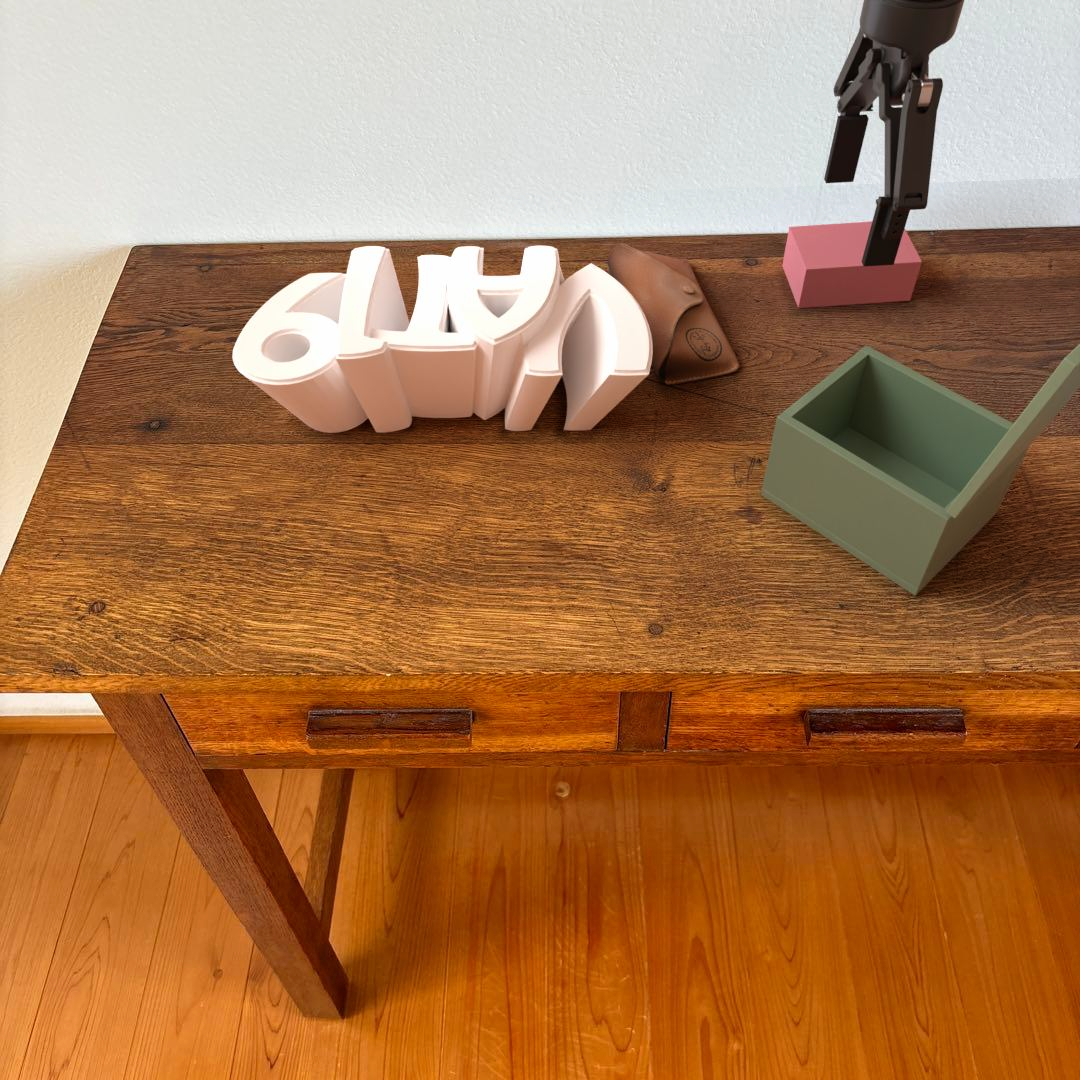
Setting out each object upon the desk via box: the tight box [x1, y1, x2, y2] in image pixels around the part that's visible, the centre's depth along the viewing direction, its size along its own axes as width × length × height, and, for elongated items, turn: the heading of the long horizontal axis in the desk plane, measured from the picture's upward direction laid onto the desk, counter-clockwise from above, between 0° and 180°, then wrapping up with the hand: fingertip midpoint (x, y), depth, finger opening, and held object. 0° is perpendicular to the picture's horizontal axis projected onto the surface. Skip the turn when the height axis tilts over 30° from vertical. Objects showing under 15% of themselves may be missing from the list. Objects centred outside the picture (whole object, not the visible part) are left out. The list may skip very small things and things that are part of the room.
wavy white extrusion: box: [232, 245, 653, 434], centre depth 88 cm, size 35×16×11 cm, turn 86°
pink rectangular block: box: [781, 221, 923, 309], centre depth 99 cm, size 11×7×4 cm, turn 94°
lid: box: [946, 343, 1080, 518], centre depth 65 cm, size 15×12×1 cm
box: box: [760, 344, 1030, 596], centre depth 79 cm, size 15×12×9 cm
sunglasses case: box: [606, 243, 740, 386], centre depth 96 cm, size 18×7×7 cm
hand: (857, 220), depth 95 cm, fingers open, 13 cm apart
